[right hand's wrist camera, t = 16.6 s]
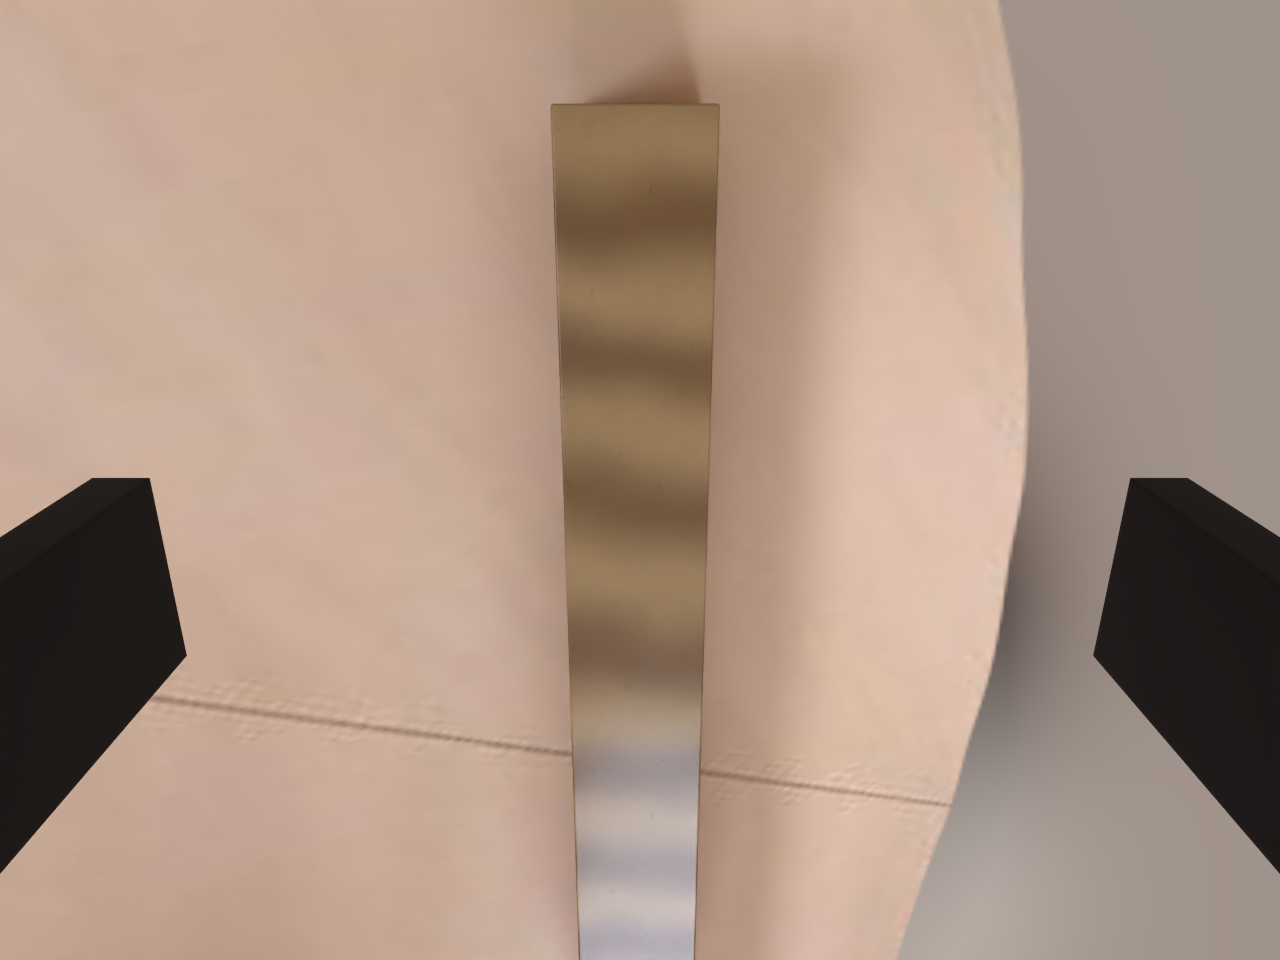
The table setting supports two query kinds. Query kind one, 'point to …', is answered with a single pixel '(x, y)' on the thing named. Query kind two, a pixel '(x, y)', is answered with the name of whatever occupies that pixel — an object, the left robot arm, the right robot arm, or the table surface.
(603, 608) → the beam
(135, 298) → the table surface
